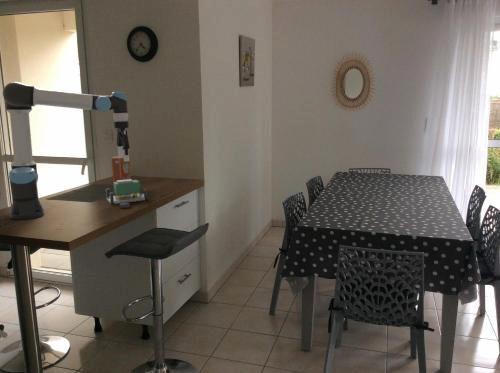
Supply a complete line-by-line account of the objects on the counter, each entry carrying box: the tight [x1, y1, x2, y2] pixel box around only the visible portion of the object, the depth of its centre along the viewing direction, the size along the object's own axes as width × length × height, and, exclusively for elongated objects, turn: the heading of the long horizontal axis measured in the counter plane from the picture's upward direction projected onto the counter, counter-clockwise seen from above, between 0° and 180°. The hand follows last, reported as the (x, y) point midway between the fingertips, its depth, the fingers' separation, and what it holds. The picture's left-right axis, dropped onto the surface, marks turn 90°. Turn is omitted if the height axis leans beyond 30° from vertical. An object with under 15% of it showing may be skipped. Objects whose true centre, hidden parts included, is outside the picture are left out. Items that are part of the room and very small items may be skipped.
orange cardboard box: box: [111, 155, 132, 183], centre depth 278 cm, size 21×7×15 cm
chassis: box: [105, 184, 149, 205], centre depth 257 cm, size 20×13×6 cm, turn 118°
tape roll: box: [119, 202, 131, 210], centre depth 241 cm, size 5×5×2 cm
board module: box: [112, 178, 141, 196], centre depth 257 cm, size 13×7×7 cm, turn 117°
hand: (123, 159), depth 253 cm, fingers open, 13 cm apart
